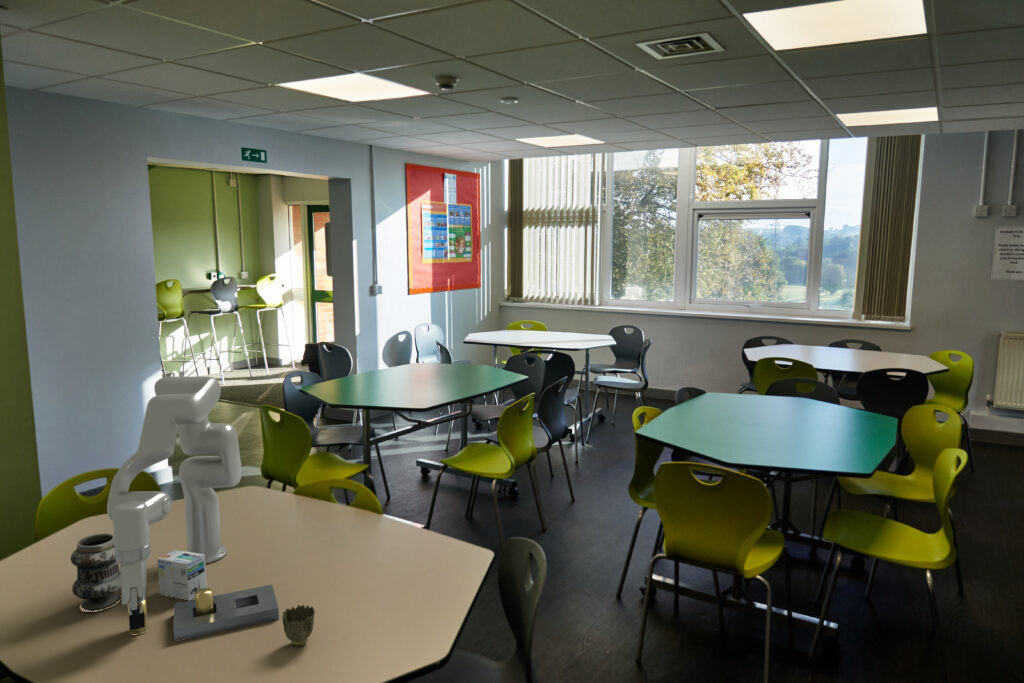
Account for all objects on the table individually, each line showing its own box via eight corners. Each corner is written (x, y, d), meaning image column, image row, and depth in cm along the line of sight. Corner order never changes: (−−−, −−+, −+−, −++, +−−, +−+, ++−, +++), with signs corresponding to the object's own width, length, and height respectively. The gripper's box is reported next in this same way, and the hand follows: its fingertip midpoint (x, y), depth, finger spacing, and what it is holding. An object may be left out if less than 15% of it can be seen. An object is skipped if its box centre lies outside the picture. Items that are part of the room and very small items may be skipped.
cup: (287, 636, 166) (286, 605, 165) (318, 634, 167) (317, 603, 166) (279, 653, 159) (278, 621, 158) (312, 651, 159) (310, 619, 158)
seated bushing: (196, 619, 174) (194, 589, 173) (213, 615, 176) (211, 586, 175) (196, 627, 170) (195, 596, 169) (214, 623, 172) (212, 593, 171)
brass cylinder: (130, 629, 169) (127, 599, 168) (148, 625, 171) (146, 595, 170) (128, 637, 166) (126, 606, 165) (147, 633, 167) (145, 602, 166)
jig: (175, 614, 176) (174, 603, 176) (272, 594, 186) (272, 584, 186) (174, 641, 164) (173, 630, 163) (279, 619, 174) (278, 607, 174)
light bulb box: (208, 590, 189) (206, 553, 188) (189, 602, 183) (187, 563, 182) (178, 584, 193) (175, 548, 191) (158, 595, 186) (156, 558, 185)
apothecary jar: (115, 613, 177) (110, 547, 175) (65, 617, 175) (59, 550, 173) (133, 591, 189) (128, 528, 187) (86, 594, 187) (81, 531, 185)
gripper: (118, 542, 172) (123, 611, 174) (112, 569, 157) (117, 644, 159) (151, 537, 175) (156, 604, 177) (148, 563, 160) (153, 636, 162)
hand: (138, 622), depth 168 cm, fingers open, 4 cm apart
